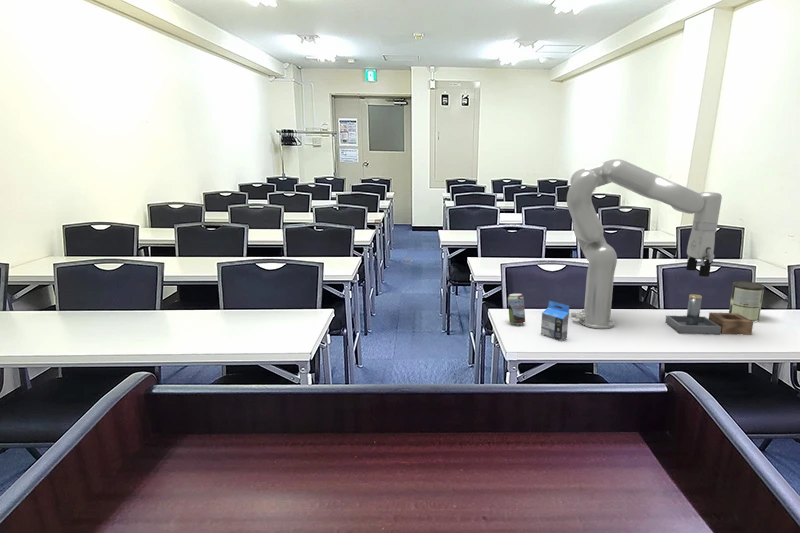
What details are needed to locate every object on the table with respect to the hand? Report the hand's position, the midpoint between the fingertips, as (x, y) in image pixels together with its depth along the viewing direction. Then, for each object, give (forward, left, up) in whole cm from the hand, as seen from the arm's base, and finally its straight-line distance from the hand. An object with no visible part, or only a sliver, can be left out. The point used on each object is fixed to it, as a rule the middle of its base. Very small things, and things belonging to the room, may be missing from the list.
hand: (697, 273), depth 174 cm
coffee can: (+27, +15, -22) cm, 37 cm away
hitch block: (+14, 0, -21) cm, 25 cm away
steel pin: (+1, 0, -21) cm, 21 cm away
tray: (+1, 0, -21) cm, 21 cm away
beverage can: (-64, -1, -22) cm, 68 cm away
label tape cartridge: (-52, -14, -22) cm, 59 cm away
